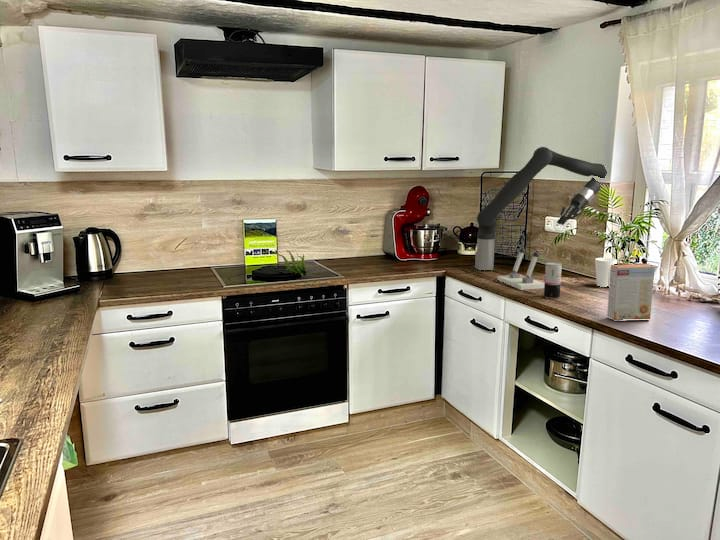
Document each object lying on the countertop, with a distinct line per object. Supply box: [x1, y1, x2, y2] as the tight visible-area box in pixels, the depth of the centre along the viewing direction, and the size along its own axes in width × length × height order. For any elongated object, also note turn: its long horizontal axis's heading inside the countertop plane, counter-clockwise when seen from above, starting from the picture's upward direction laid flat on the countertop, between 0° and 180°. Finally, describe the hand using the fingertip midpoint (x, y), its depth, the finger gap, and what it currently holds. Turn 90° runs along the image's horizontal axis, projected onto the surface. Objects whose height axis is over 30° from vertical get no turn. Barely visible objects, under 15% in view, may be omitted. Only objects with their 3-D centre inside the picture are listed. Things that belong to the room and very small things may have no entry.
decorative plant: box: [272, 248, 307, 277], centre depth 293 cm, size 18×30×15 cm, turn 11°
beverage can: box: [543, 261, 562, 300], centre depth 238 cm, size 6×7×15 cm
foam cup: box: [594, 257, 618, 288], centre depth 257 cm, size 10×9×13 cm
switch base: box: [496, 272, 545, 291], centre depth 265 cm, size 13×22×4 cm, turn 15°
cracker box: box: [606, 263, 655, 320], centre depth 203 cm, size 14×6×21 cm, turn 92°
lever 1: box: [511, 247, 526, 273], centre depth 269 cm, size 3×3×13 cm
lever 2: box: [524, 251, 540, 278], centre depth 258 cm, size 3×3×13 cm
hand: (559, 223), depth 271 cm, fingers closed
